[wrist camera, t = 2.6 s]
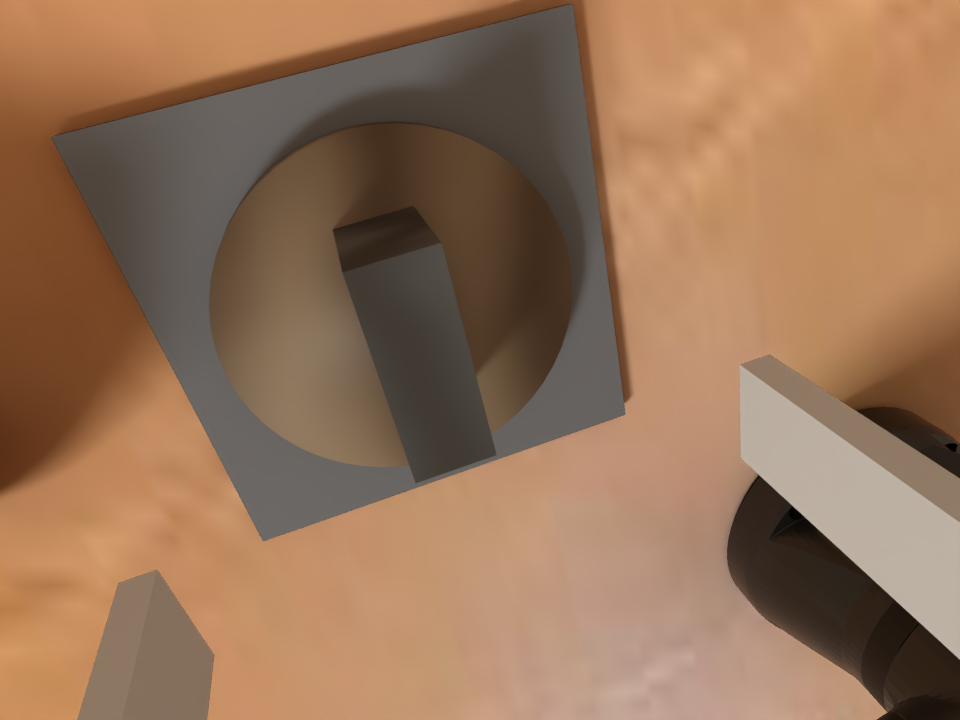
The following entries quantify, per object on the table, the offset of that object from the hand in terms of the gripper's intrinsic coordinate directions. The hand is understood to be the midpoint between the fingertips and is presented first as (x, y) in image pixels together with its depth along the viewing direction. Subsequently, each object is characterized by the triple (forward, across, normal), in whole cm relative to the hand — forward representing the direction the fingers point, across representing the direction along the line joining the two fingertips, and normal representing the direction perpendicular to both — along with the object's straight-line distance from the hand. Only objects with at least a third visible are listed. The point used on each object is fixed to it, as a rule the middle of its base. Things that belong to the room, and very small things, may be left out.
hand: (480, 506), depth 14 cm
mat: (+14, 0, 0) cm, 14 cm away
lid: (+13, 0, 0) cm, 13 cm away
